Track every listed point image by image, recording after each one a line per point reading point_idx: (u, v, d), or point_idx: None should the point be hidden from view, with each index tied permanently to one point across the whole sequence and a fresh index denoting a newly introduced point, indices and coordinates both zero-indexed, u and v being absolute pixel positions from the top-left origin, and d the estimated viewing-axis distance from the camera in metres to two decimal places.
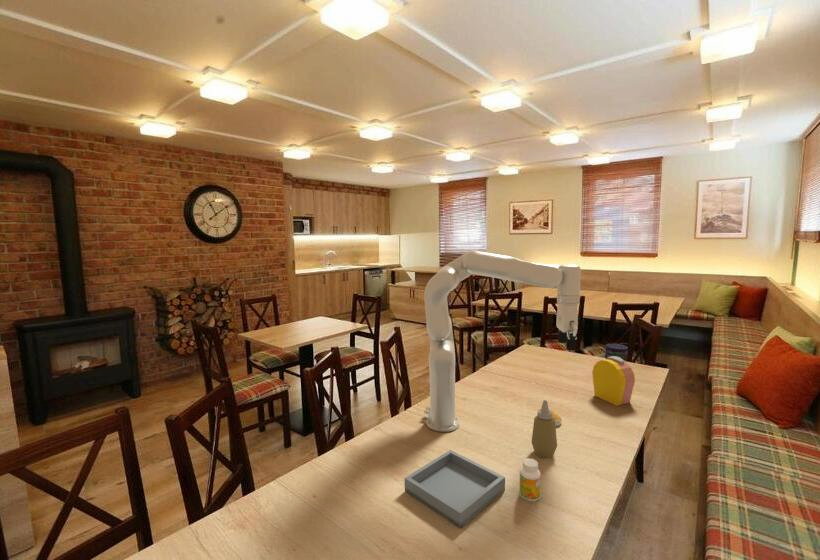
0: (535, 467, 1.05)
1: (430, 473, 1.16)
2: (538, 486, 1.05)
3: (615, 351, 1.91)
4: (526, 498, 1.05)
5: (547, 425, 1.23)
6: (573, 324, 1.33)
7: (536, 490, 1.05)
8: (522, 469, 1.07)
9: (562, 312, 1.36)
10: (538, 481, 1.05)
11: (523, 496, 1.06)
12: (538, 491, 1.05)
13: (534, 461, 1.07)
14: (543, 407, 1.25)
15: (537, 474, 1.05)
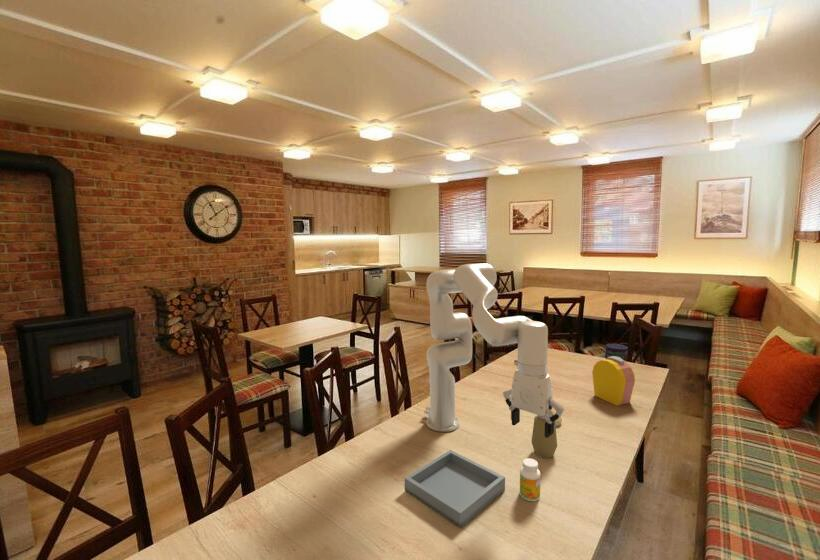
0: (535, 467, 1.05)
1: (430, 473, 1.16)
2: (538, 486, 1.05)
3: (615, 351, 1.91)
4: (526, 498, 1.05)
5: None
6: (555, 402, 1.00)
7: (536, 490, 1.05)
8: (522, 469, 1.07)
9: (536, 388, 1.00)
10: (538, 481, 1.05)
11: (523, 496, 1.06)
12: (538, 491, 1.05)
13: (534, 461, 1.07)
14: None
15: (537, 474, 1.05)
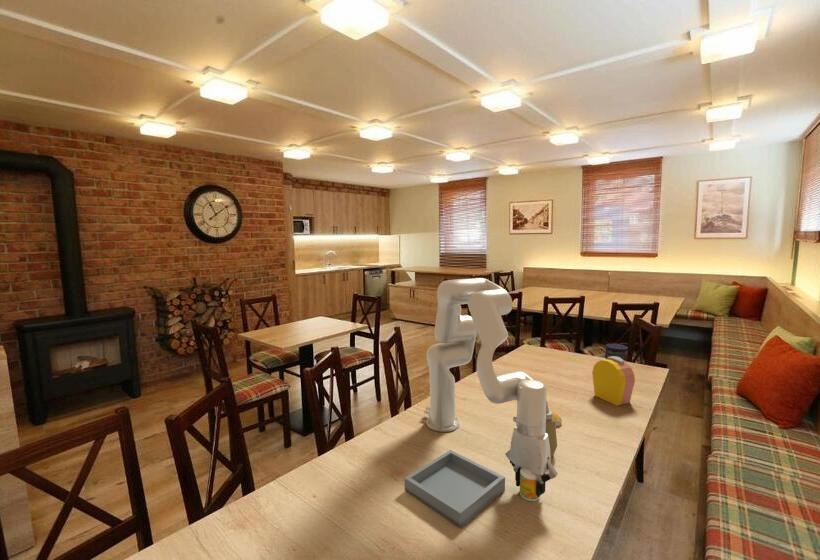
0: None
1: (430, 473, 1.16)
2: None
3: (615, 351, 1.91)
4: (526, 498, 1.05)
5: (547, 425, 1.23)
6: (551, 465, 1.02)
7: None
8: (522, 469, 1.07)
9: (535, 449, 1.02)
10: None
11: (523, 496, 1.06)
12: None
13: None
14: None
15: None
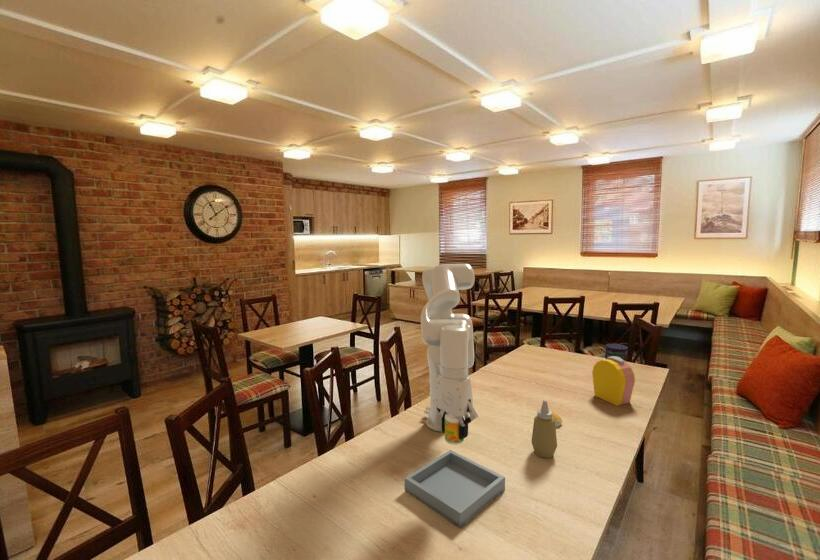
0: None
1: (430, 473, 1.16)
2: None
3: (615, 351, 1.91)
4: (449, 442, 1.06)
5: (547, 425, 1.23)
6: (471, 407, 1.03)
7: None
8: (446, 414, 1.08)
9: (456, 391, 1.03)
10: None
11: (447, 440, 1.07)
12: None
13: None
14: (543, 407, 1.25)
15: None
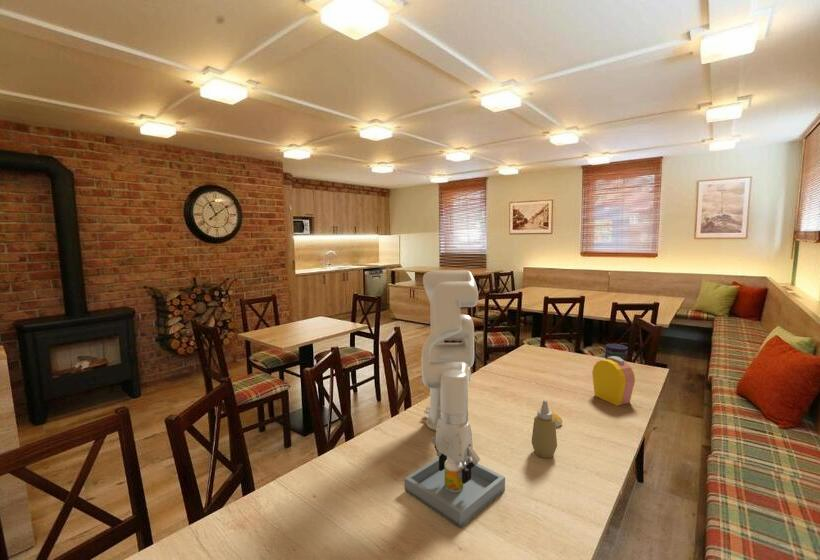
0: None
1: (430, 473, 1.16)
2: (460, 478, 1.08)
3: (615, 351, 1.91)
4: (449, 489, 1.08)
5: (547, 425, 1.23)
6: (472, 451, 1.04)
7: (458, 481, 1.07)
8: (446, 461, 1.10)
9: (456, 436, 1.04)
10: (460, 473, 1.07)
11: (446, 487, 1.09)
12: (461, 482, 1.08)
13: None
14: (543, 407, 1.25)
15: (460, 466, 1.07)
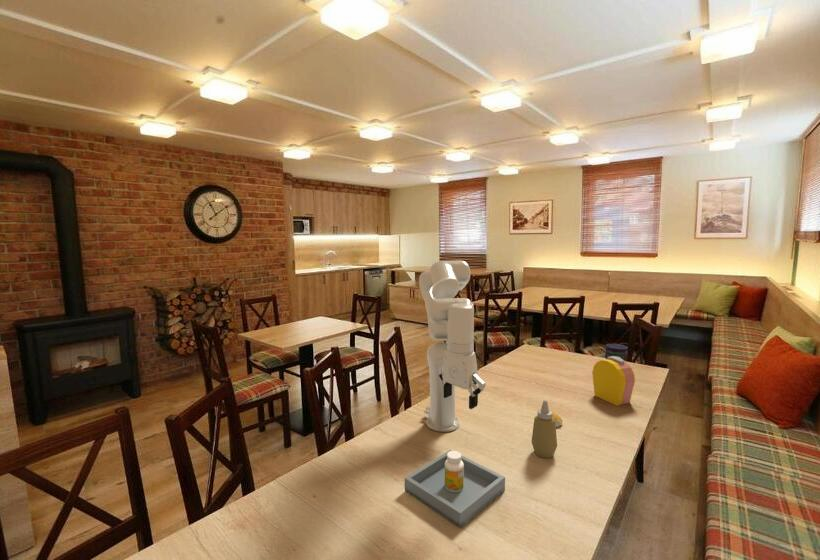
0: (457, 459, 1.07)
1: (430, 473, 1.16)
2: (460, 478, 1.08)
3: (615, 351, 1.91)
4: (449, 489, 1.08)
5: (547, 425, 1.23)
6: (478, 377, 1.09)
7: (458, 481, 1.07)
8: (446, 461, 1.09)
9: (461, 365, 1.09)
10: (460, 473, 1.07)
11: (446, 487, 1.09)
12: (461, 483, 1.08)
13: (458, 453, 1.09)
14: (543, 407, 1.25)
15: (460, 466, 1.07)
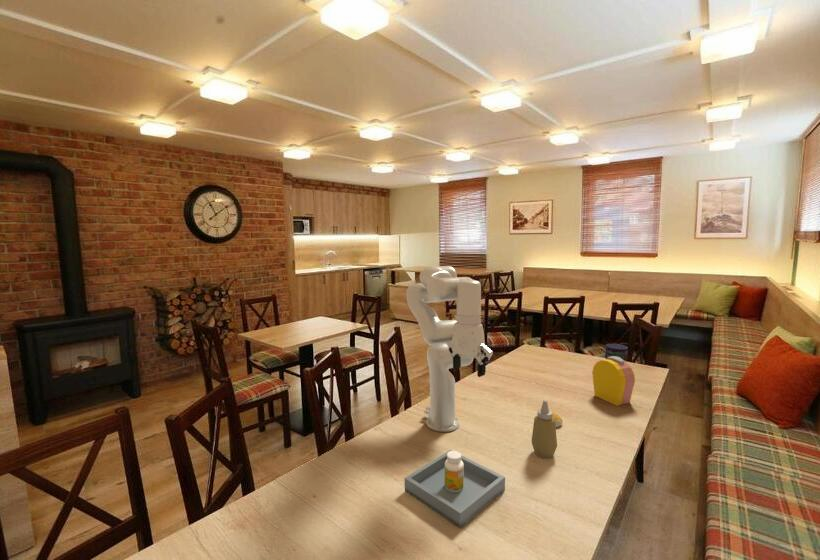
0: (457, 459, 1.07)
1: (430, 473, 1.16)
2: (460, 478, 1.08)
3: (615, 351, 1.91)
4: (449, 489, 1.08)
5: (547, 425, 1.23)
6: (485, 346, 1.19)
7: (458, 481, 1.07)
8: (446, 461, 1.10)
9: (470, 335, 1.19)
10: (460, 473, 1.07)
11: (446, 487, 1.09)
12: (461, 482, 1.08)
13: (458, 453, 1.09)
14: (543, 407, 1.25)
15: (460, 466, 1.07)
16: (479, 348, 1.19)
